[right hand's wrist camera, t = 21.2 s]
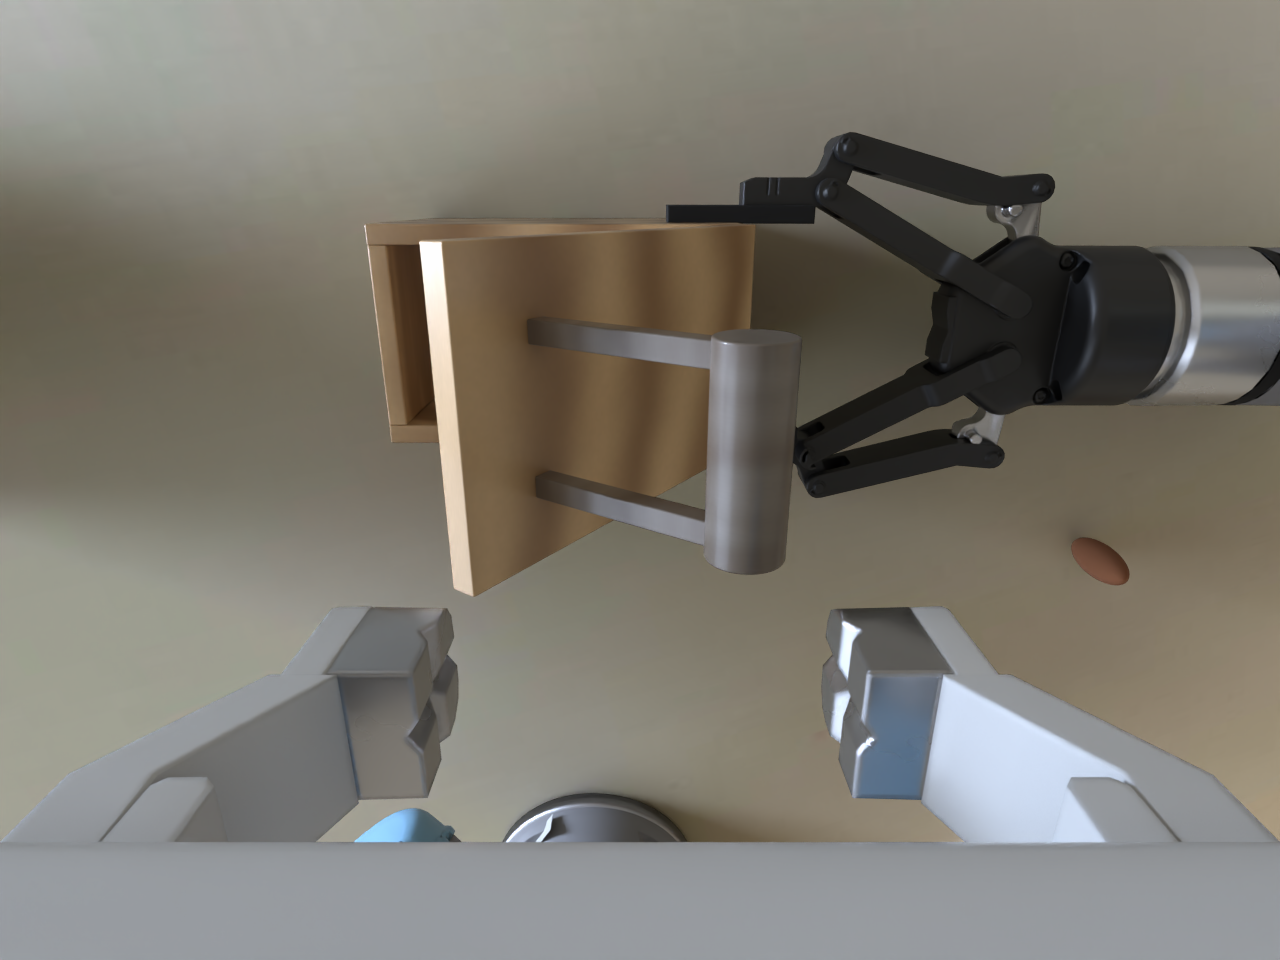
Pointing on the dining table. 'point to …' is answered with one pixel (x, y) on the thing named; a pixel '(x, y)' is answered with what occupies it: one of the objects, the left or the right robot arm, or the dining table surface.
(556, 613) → the dining table surface
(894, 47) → the dining table surface
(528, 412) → the lid
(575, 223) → the chest
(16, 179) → the dining table surface
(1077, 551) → the egg
